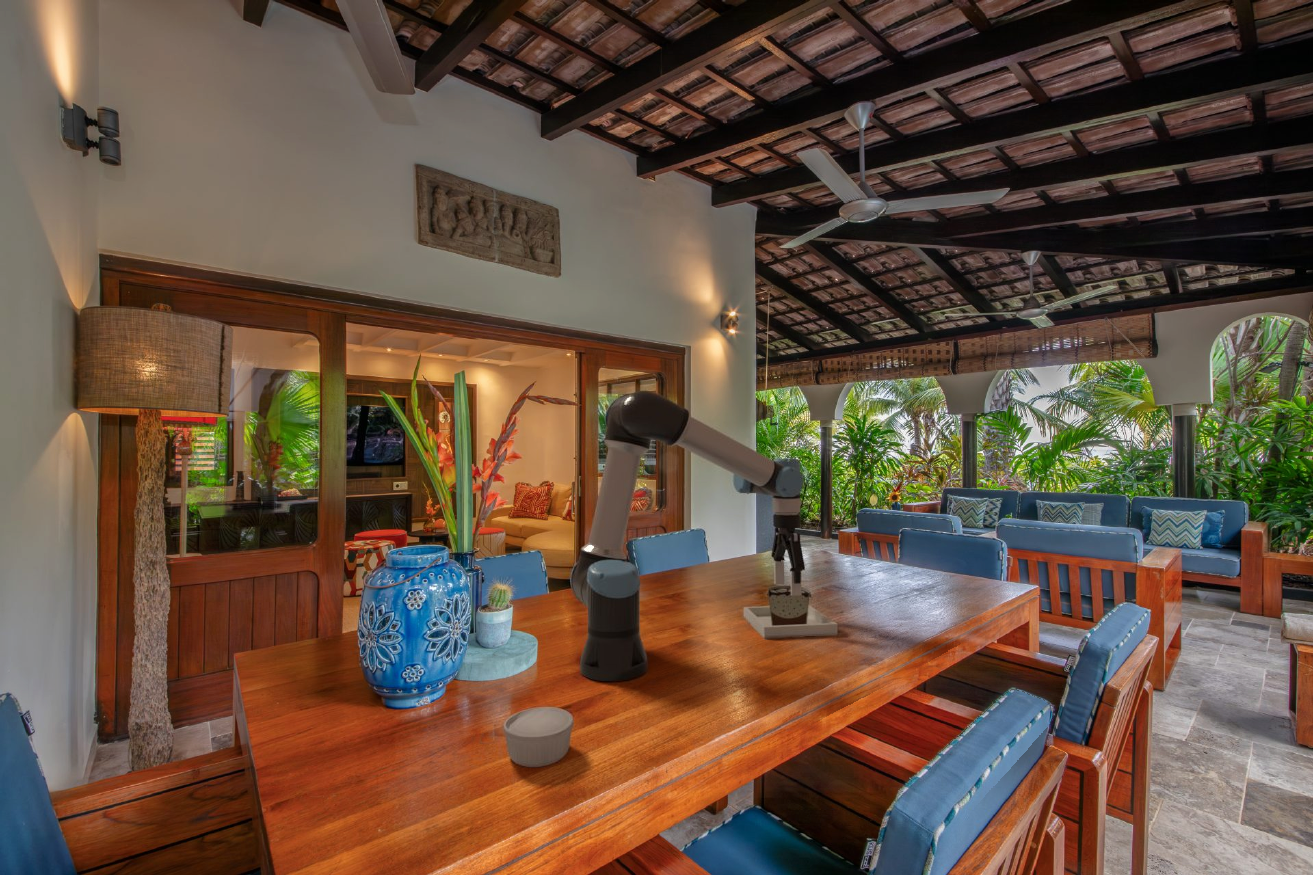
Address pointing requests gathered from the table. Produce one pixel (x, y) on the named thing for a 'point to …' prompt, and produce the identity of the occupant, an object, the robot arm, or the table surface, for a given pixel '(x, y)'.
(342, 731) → the table surface
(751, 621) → the tray
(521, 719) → the ramekin
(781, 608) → the grey brown half-round piece
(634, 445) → the robot arm
